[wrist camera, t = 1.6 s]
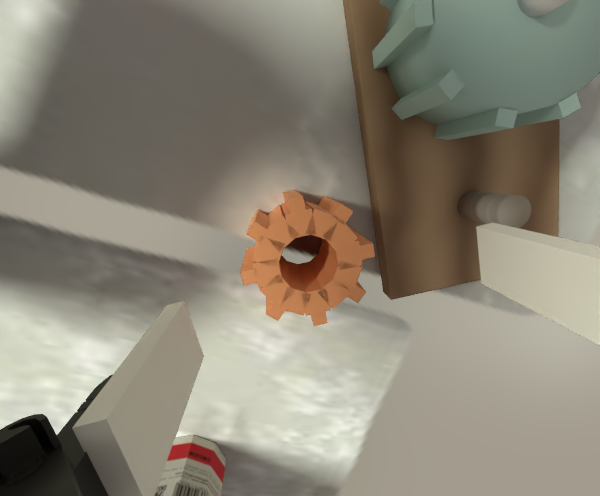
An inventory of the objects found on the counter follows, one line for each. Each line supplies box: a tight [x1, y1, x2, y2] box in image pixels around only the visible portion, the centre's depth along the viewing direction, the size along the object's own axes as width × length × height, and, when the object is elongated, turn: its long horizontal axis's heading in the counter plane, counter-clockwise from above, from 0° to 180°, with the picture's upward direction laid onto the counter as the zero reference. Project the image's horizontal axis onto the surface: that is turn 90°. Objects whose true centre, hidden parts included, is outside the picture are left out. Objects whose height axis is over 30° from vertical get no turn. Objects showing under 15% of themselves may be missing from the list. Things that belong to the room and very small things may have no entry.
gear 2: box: [372, 0, 600, 140], centre depth 20 cm, size 14×14×8 cm
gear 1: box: [240, 190, 375, 326], centre depth 25 cm, size 9×9×7 cm
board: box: [343, 0, 559, 299], centre depth 24 cm, size 16×27×7 cm, turn 11°
